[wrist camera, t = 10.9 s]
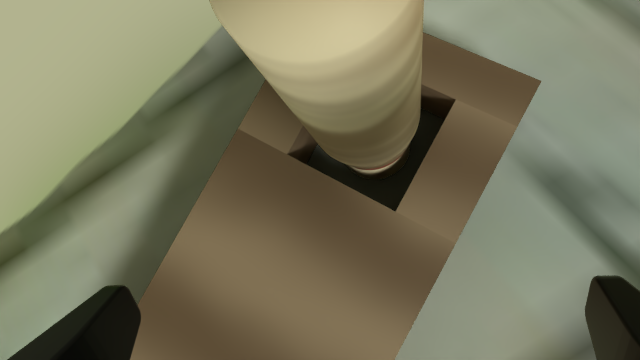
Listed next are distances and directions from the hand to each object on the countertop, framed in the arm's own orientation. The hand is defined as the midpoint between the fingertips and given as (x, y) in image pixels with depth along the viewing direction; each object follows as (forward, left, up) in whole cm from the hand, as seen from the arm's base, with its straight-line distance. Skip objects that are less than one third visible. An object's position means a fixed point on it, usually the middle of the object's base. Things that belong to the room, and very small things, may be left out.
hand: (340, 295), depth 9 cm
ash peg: (+5, +3, -12) cm, 13 cm away
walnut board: (-2, +3, -12) cm, 13 cm away
